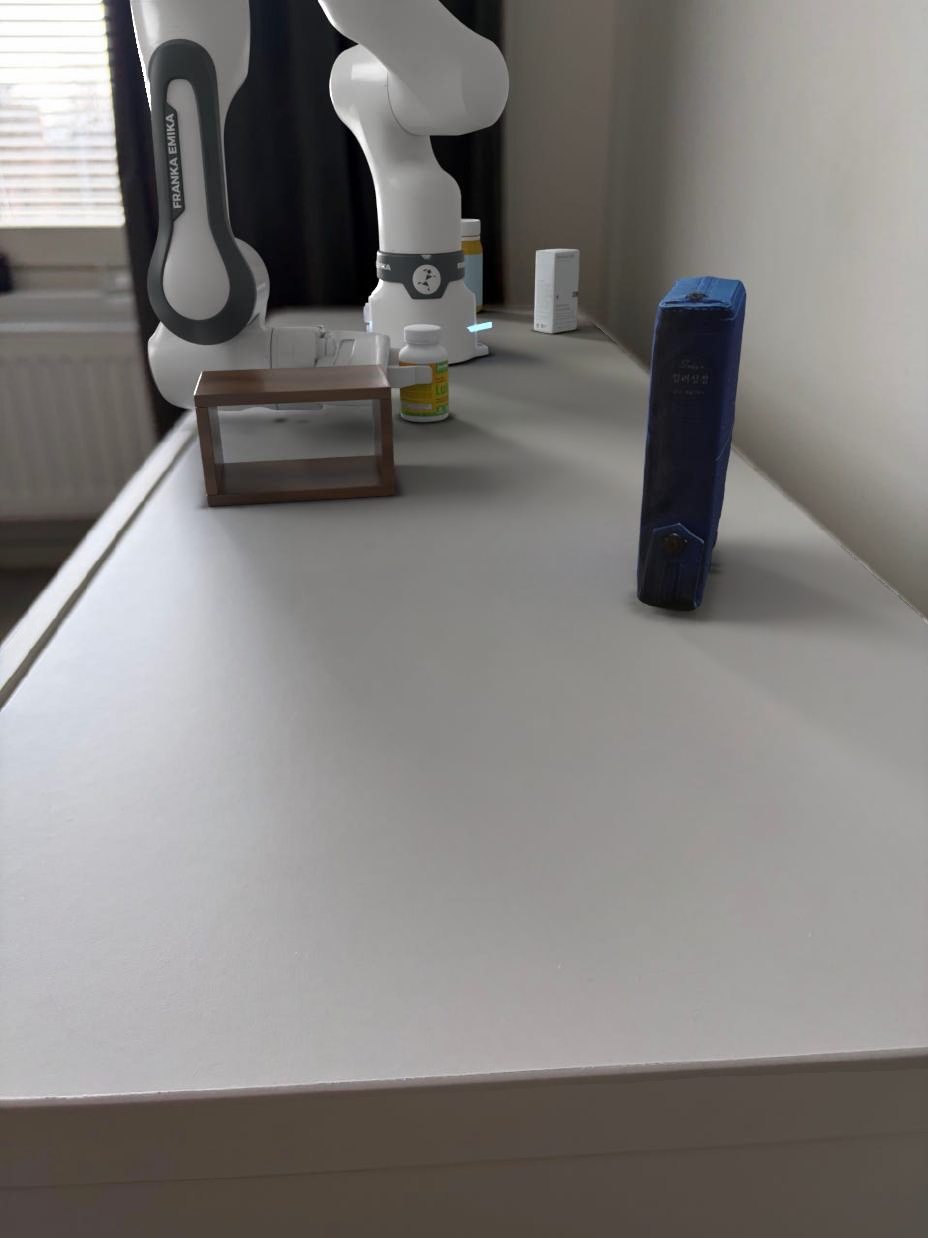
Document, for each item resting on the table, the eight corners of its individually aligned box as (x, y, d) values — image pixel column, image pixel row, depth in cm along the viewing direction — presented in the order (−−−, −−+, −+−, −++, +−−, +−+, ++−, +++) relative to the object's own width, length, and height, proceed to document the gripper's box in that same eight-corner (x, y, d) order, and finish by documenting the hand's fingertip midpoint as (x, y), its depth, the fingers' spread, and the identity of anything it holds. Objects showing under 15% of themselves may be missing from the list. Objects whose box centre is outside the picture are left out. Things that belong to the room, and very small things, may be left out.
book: (705, 624, 62) (745, 300, 53) (623, 613, 63) (648, 297, 54) (720, 542, 74) (754, 269, 65) (650, 535, 76) (675, 266, 67)
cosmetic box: (553, 334, 151) (556, 252, 146) (532, 330, 154) (534, 250, 149) (578, 329, 155) (582, 249, 149) (557, 325, 158) (560, 247, 152)
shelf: (214, 473, 90) (201, 370, 85) (385, 464, 92) (381, 364, 88) (207, 506, 82) (193, 395, 77) (395, 495, 84) (391, 386, 80)
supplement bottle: (442, 424, 105) (441, 332, 100) (395, 421, 106) (391, 330, 101) (453, 411, 109) (452, 323, 105) (407, 409, 110) (404, 322, 106)
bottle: (439, 313, 168) (438, 221, 162) (446, 307, 175) (445, 218, 168) (478, 314, 167) (479, 222, 161) (484, 308, 174) (485, 218, 167)
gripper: (291, 359, 94) (433, 357, 94) (311, 322, 112) (429, 320, 113) (296, 422, 97) (434, 420, 97) (315, 376, 115) (430, 374, 115)
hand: (431, 366), depth 105 cm, fingers closed on supplement bottle, 5 cm apart
